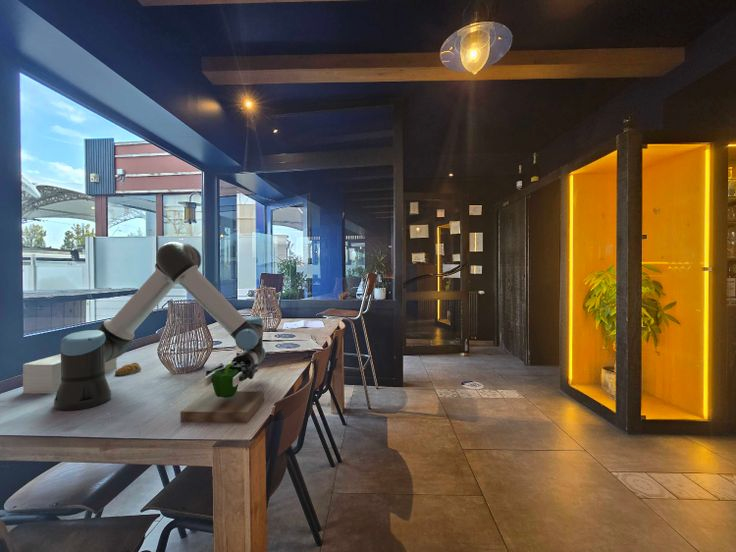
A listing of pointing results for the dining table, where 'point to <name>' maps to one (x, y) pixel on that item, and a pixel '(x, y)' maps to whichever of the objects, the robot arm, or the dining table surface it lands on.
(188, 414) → the walnut board
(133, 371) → the pastry
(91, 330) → the robot arm
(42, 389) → the long cream beam
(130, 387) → the dining table surface
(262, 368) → the dining table surface
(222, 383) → the bell pepper
